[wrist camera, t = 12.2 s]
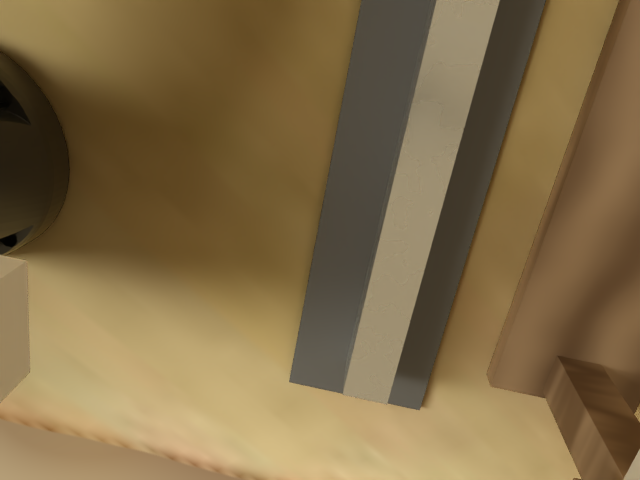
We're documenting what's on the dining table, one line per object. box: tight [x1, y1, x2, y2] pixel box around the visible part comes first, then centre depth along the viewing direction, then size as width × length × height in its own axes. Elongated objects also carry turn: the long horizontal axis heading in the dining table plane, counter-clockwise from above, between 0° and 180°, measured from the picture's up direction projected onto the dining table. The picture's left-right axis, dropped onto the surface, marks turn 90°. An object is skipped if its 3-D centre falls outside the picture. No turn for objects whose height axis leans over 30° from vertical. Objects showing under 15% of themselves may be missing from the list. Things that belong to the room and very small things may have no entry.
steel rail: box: [343, 0, 500, 404], centre depth 32 cm, size 3×28×4 cm, turn 170°
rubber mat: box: [289, 0, 546, 410], centre depth 34 cm, size 10×34×1 cm, turn 170°
